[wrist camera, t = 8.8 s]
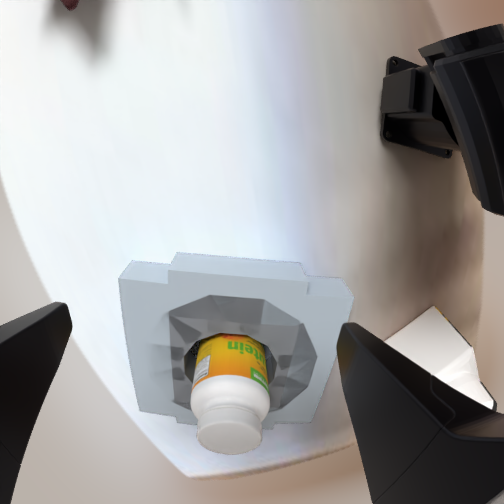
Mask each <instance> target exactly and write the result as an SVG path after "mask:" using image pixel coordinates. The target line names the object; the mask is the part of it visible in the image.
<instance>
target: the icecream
mask: <svg viewBox="0 0 504 504" xmlns="http://www.w3.org/2000/svg"><path fill="white" fill-rule="evenodd" d="M60 1H61V2H62V3H63V4H64V5H65V7H66V8H67V9H68V10H74V9H75V8H76V7H77V4H78V1H79V0H60Z"/></svg>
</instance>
